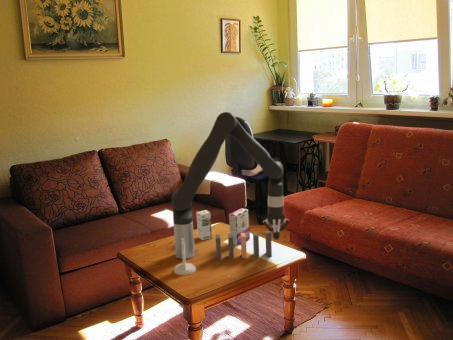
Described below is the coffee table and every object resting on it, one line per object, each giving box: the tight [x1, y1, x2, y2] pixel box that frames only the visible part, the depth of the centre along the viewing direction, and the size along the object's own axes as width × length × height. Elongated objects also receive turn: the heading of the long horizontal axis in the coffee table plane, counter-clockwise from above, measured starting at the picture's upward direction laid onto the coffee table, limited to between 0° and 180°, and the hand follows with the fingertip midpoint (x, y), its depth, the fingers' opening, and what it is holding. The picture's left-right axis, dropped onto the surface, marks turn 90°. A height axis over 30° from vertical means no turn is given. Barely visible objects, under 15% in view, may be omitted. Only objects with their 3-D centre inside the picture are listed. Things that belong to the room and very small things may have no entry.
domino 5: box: [264, 230, 273, 258], centre depth 226 cm, size 2×5×11 cm, turn 4°
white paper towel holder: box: [173, 238, 197, 276], centre depth 213 cm, size 10×10×15 cm
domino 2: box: [227, 233, 235, 261], centre depth 225 cm, size 2×5×11 cm, turn 4°
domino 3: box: [240, 233, 248, 259], centre depth 225 cm, size 2×5×11 cm, turn 4°
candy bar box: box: [228, 208, 251, 247], centre depth 243 cm, size 11×5×16 cm, turn 143°
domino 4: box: [252, 231, 260, 259], centre depth 226 cm, size 2×5×11 cm, turn 4°
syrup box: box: [195, 209, 213, 241], centre depth 251 cm, size 6×6×14 cm
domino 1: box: [214, 234, 222, 261], centre depth 225 cm, size 2×5×11 cm, turn 4°
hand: (276, 239), depth 226 cm, fingers closed
